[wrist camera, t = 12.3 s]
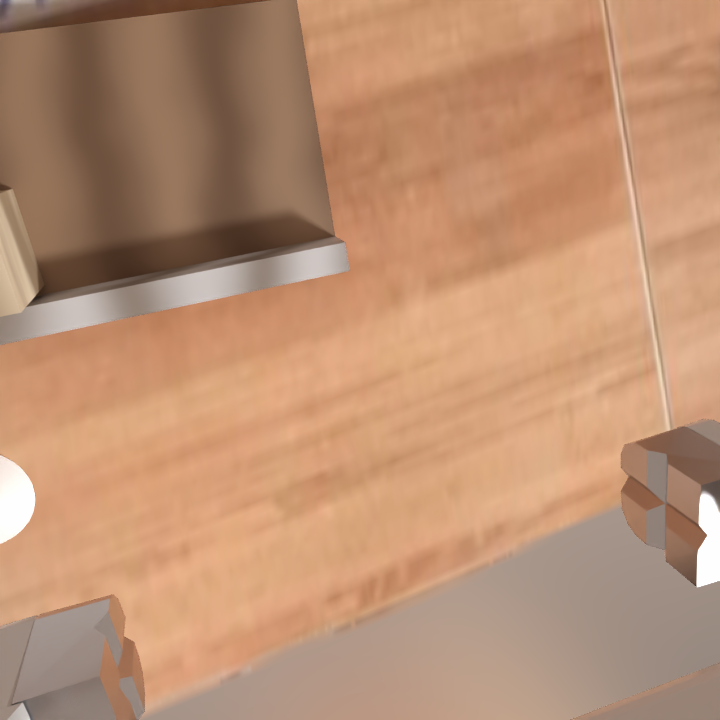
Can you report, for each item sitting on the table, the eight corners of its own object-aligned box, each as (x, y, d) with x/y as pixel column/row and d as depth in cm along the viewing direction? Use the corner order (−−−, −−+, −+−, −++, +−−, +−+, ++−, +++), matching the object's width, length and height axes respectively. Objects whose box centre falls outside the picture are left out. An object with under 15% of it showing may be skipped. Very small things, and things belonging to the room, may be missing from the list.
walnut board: (289, 4, 35) (304, -13, 31) (331, 257, 40) (349, 270, 36) (-163, 60, 31) (-212, 49, 27) (-53, 336, 36) (-80, 362, 32)
